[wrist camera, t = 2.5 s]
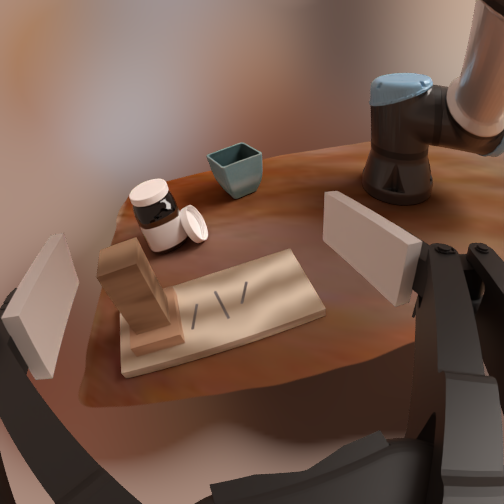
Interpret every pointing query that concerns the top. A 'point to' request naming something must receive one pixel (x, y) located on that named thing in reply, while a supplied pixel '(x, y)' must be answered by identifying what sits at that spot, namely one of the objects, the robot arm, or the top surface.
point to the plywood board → (232, 311)
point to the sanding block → (140, 298)
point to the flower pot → (237, 169)
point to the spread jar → (165, 217)
